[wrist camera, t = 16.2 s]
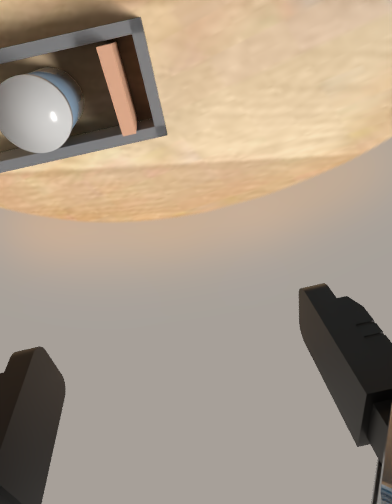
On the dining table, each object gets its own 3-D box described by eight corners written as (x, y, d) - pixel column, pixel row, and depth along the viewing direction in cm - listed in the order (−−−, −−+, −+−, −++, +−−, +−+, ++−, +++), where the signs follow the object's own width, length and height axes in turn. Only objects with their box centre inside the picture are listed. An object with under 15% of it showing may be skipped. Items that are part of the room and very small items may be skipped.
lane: (-92, 70, 31) (-121, 75, 27) (140, 18, 31) (140, 17, 27) (-33, 169, 36) (-51, 184, 33) (165, 125, 36) (167, 135, 33)
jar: (12, 72, 32) (-24, 84, 25) (72, 59, 32) (53, 67, 25) (39, 134, 35) (14, 159, 28) (94, 122, 35) (82, 144, 28)
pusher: (103, 44, 31) (95, 47, 26) (116, 41, 31) (111, 43, 26) (126, 121, 35) (122, 136, 30) (137, 118, 35) (136, 133, 30)
